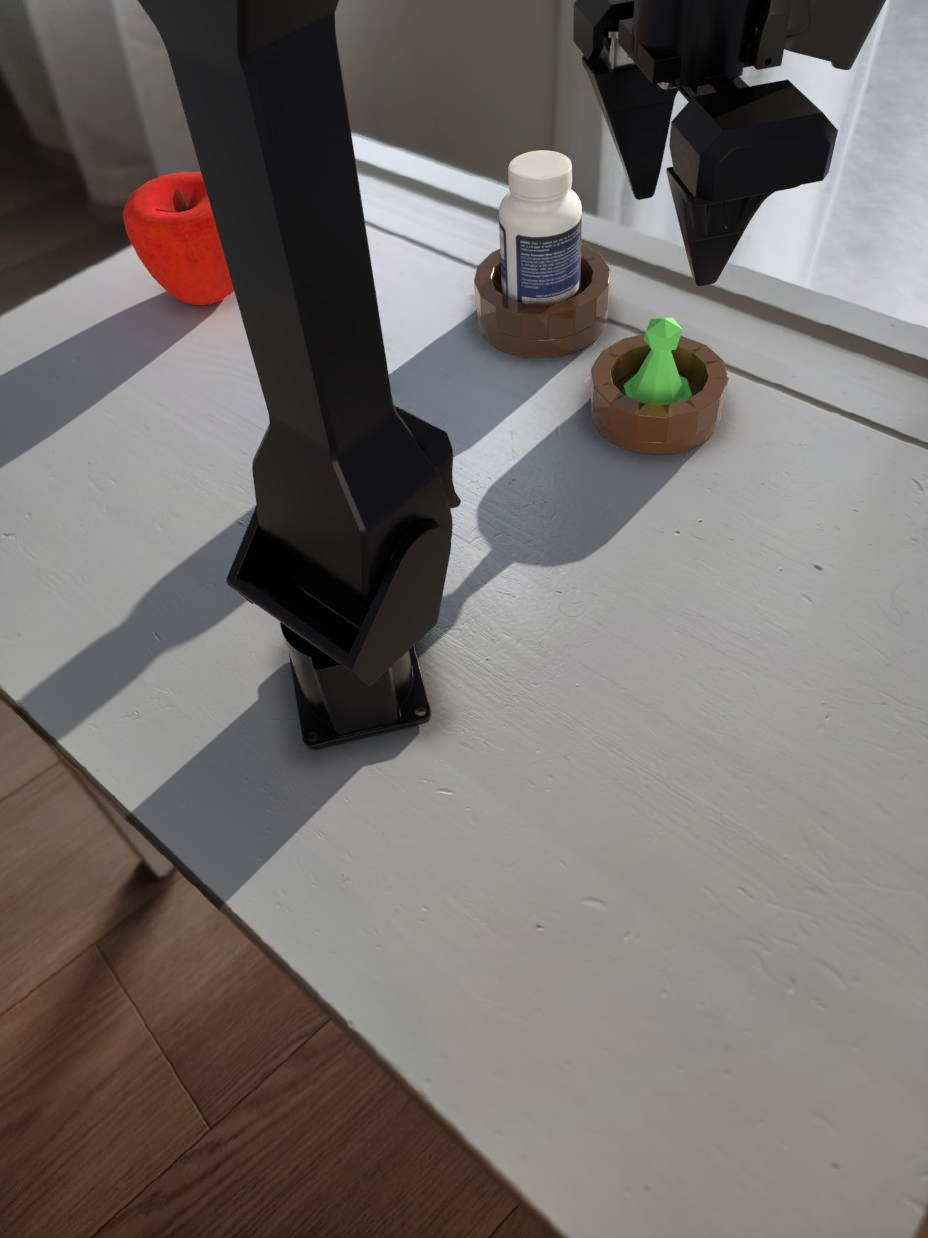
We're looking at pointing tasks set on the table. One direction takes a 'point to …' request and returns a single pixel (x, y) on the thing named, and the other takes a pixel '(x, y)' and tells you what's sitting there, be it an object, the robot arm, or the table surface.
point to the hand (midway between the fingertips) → (673, 238)
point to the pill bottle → (540, 230)
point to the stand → (543, 312)
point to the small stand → (657, 422)
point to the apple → (178, 238)
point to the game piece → (659, 367)
